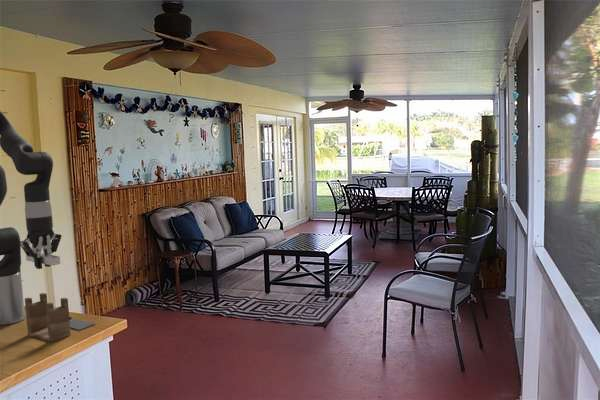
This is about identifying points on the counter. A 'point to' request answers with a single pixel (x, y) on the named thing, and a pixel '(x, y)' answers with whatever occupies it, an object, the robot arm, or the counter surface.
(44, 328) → the cradle
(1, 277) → the robot arm
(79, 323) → the mat
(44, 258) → the steel rod
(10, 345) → the counter surface
